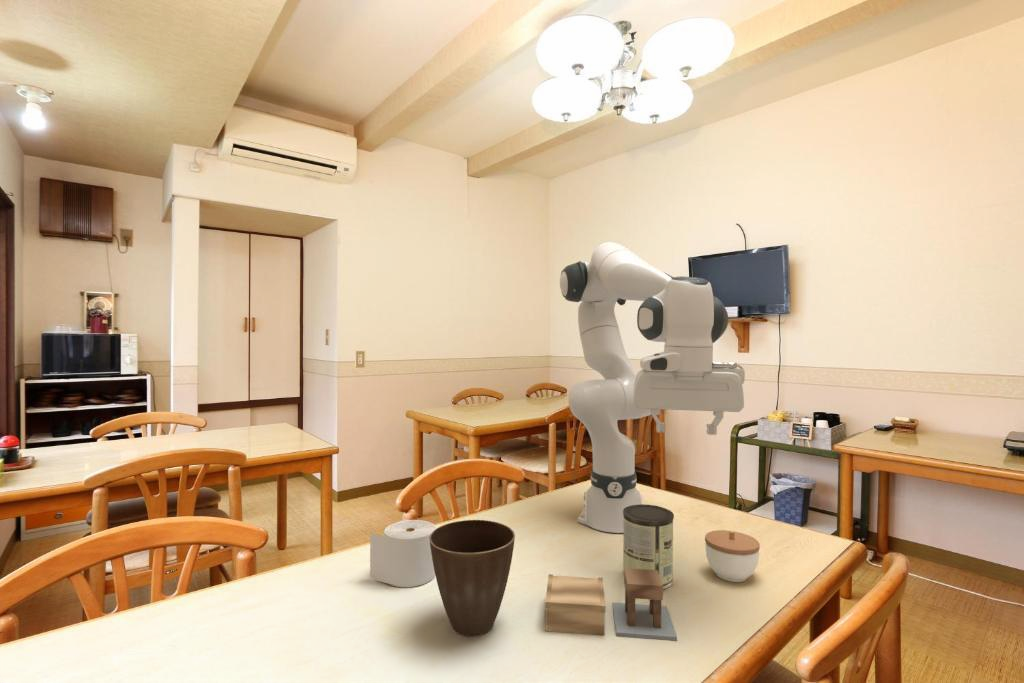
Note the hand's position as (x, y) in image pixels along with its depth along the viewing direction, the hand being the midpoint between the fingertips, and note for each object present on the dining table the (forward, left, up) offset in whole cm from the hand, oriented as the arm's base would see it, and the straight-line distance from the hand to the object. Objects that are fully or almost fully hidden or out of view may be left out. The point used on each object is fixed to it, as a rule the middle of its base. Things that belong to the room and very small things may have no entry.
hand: (685, 433), depth 101 cm
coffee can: (-8, -6, -33) cm, 34 cm away
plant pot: (+14, -39, -33) cm, 53 cm away
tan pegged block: (+9, -9, -32) cm, 34 cm away
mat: (+9, -9, -32) cm, 35 cm away
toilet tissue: (-2, -56, -33) cm, 65 cm away
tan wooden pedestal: (+9, -21, -32) cm, 40 cm away
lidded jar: (-12, +12, -33) cm, 37 cm away
